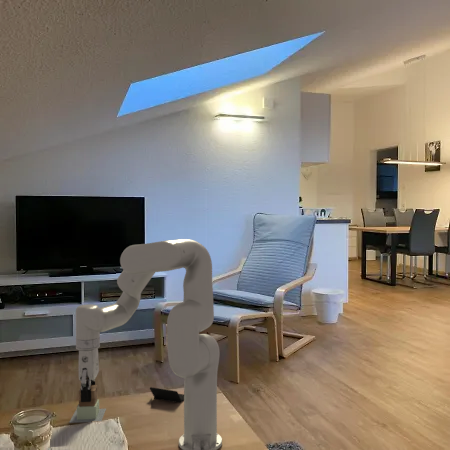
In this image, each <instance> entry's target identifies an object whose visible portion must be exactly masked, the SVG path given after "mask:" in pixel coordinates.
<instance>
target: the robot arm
mask: <svg viewBox="0 0 450 450" xmlns="http://www.w3.org/2000/svg"><path fill="white" fill-rule="evenodd" d="M119 263H120V266H121V268H122V272H121V273H120V274H119V276H118V277H117V280H116V283H117V286H118V288H119V289H120V290H121V291H122V293H121V295H119V296H120V297H119V298H118V299H117V300H116V302H114V303H113V304H110V305H106V306H105V305H104V306H101V307H99V305H96V304H93V303H92V304H82V305H79V306H77V307H76V309H75V349H76V350H78V381H80V383H81V384H80V388H81V402H91V389H90V385H96V378H97V376H98V374H99V372H100V364H99V349H100V347H101V341H100V339H101V337H100V335H101V333H103V332H106V331H107V332H108V331H110V330H112V329H115V328H119V327H121V326H123V325H125V324H126V323H127V322H129V320H130V319H131V318H132V316H133V315H134V313H135V312H136V311H137V309H138V308H139V305H140V304H141V298H142V292H143V290H144V289H145V288H146V286H147V285H148V283H150V281H151V279H152V278H153V276H154V275H155V274H156V273H160V272H162V273H163V272H169V271H175V270H180V269H185V274H184V278H183V283H182V290H183V300H182V302H180V303H177V304H175V305H174V306H173V307H172V308H171V309H170V311H169V313H168V316H167V320H166V334H167V335H166V337H167V359H168V364H169V367H170V369H171V371H172V372H173V374H175V376H176V377H178V378H180V379H184V384H183V394H184V401H183V434H182V435H181V436H180V437H179V438H178V446H179V448H180V449H181V450H218V449H220V448H221V447H222V446H223V437H222V436H221V435H220V434H219V433H217V432H218V427H217V426H218V412H217V411H218V403H217V402H218V400H217V399H218V396H217V392H218V372H219V371H218V370H219V362H220V355H221V354H220V347H219V344H218V341H217V340H216V338H214V337H213V336H212V335H210V334H207V333H201V332H203V331H205V330H207V329H208V328H210V327H211V326H212V324H213V323H214V319H215V308H214V287H213V262H212V258H211V255H210V252H209V250H208V249H207V248H206V247H205V246H204V245H203V244H202V243H200V242H198V241H197V240H194V239H189V238H188V239H187V238H178V239H170V240H160V241H156V242H148V243H141V244H132V245H129V246H127V247H126V248H125V249H124V250H123V252H122V253H121V255H120V257H119Z"/></svg>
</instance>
